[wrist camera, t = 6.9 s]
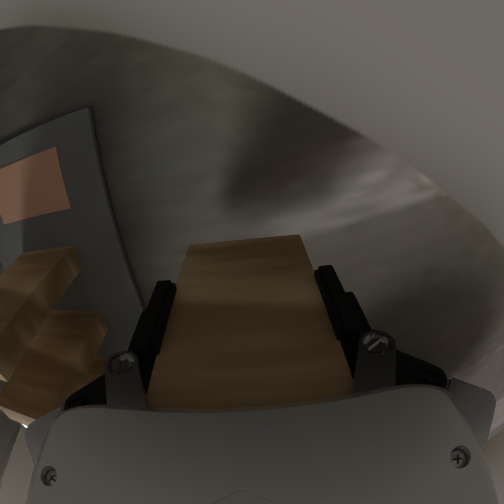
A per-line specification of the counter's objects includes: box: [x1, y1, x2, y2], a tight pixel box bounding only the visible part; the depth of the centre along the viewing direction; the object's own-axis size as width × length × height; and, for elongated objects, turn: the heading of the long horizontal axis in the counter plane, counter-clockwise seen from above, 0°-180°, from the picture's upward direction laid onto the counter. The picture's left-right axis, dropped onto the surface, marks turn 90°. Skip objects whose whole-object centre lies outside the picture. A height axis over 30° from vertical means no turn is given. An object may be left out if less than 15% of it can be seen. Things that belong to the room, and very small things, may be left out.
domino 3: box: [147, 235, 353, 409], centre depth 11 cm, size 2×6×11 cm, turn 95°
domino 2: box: [0, 310, 108, 426], centre depth 17 cm, size 2×6×11 cm, turn 95°
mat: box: [0, 107, 145, 358], centre depth 20 cm, size 26×14×1 cm, turn 5°
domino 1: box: [0, 246, 82, 382], centre depth 14 cm, size 2×6×11 cm, turn 95°
